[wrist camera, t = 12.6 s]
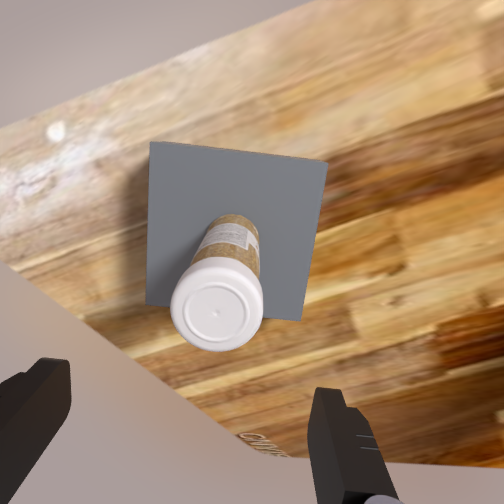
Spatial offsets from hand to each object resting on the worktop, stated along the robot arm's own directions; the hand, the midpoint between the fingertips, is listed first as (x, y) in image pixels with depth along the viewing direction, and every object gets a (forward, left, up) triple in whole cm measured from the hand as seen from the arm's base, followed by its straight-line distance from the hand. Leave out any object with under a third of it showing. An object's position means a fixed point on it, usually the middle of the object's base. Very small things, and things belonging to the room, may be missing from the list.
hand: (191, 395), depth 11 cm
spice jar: (0, 0, -19) cm, 19 cm away
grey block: (0, 0, -24) cm, 24 cm away
